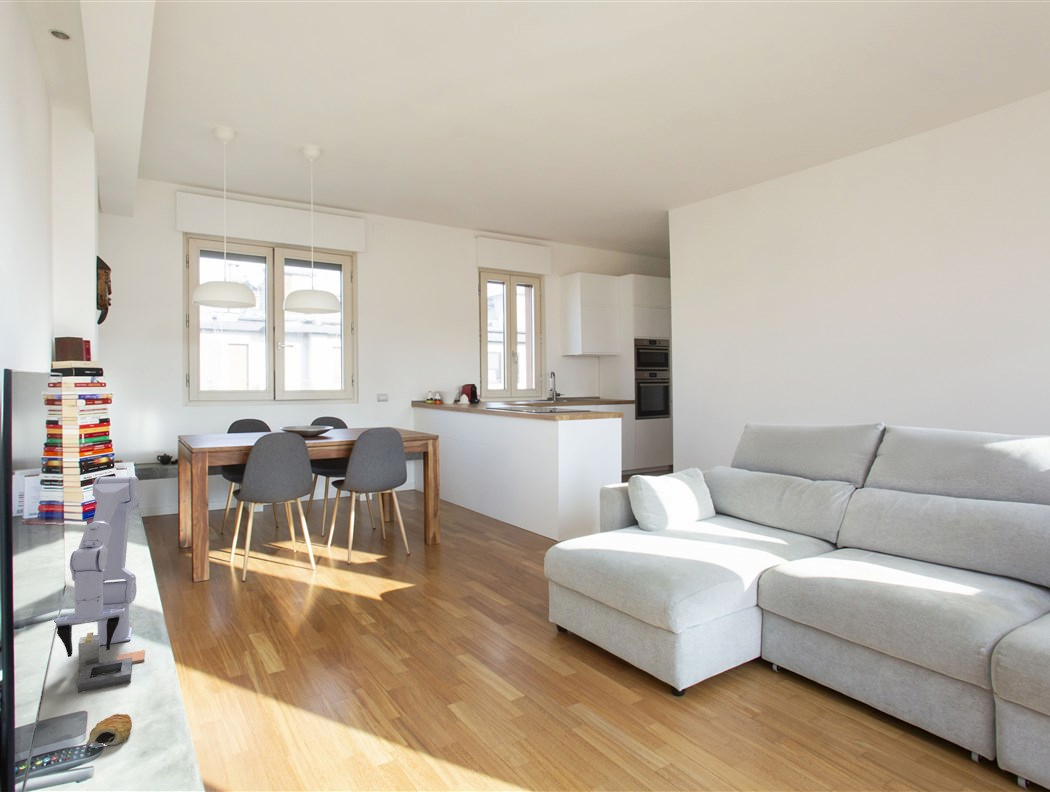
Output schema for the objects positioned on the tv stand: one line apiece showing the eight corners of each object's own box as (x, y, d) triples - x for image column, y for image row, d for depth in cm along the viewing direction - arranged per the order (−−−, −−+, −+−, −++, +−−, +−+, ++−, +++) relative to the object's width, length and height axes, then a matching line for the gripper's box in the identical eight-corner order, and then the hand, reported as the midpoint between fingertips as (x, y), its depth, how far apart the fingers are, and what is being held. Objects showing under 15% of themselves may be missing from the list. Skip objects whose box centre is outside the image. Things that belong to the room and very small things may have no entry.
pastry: (101, 725, 127) (101, 707, 127) (139, 720, 129) (139, 702, 129) (84, 752, 118) (84, 732, 118) (125, 746, 121) (125, 726, 120)
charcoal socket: (82, 674, 149) (82, 666, 149) (132, 665, 154) (132, 657, 154) (78, 692, 140) (77, 684, 140) (130, 682, 145) (130, 673, 145)
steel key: (80, 664, 154) (80, 634, 154) (100, 661, 156) (100, 631, 156) (78, 673, 149) (78, 642, 149) (98, 669, 151) (98, 638, 151)
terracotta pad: (117, 657, 158) (117, 655, 158) (144, 652, 161) (144, 650, 161) (115, 666, 153) (115, 664, 153) (144, 661, 156) (144, 659, 156)
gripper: (49, 607, 145) (49, 664, 145) (123, 596, 152) (123, 651, 153) (53, 598, 151) (54, 653, 152) (124, 588, 159) (125, 641, 159)
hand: (89, 652), depth 153 cm, fingers open, 7 cm apart
